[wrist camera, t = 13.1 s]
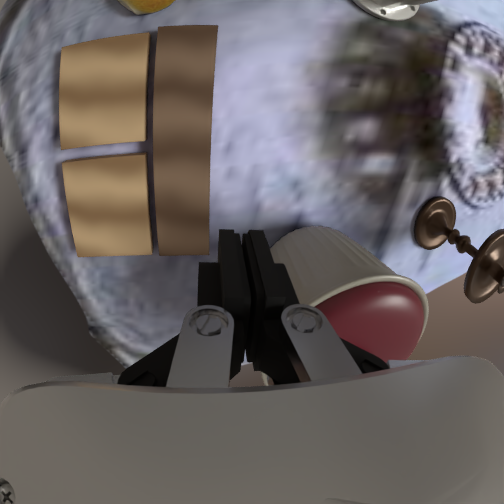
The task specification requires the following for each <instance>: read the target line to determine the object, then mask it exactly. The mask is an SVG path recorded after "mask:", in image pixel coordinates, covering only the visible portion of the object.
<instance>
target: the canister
mask: <svg viewBox="0 0 504 504" xmlns="http://www.w3.org/2000/svg"><path fill="white" fill-rule="evenodd" d="M270 251H271V254H272V257H273V260H274V263H283V264H284V265H285V266H286V269H287V272H288V274H289V277H290V279H291V282H292V285H293V287H294V290H295V292H296V295H297V298H298V300H299V303H300V304H306V305H310V306H313V307H315V308H317V309H318V310H320V311H321V312H322V313H323V314H324V315H325V316H326V318H327V319H328V321H329V322H330V324H331V325H332V327H333V328H334V330H335V332H336V333H337V335H338V336H339V337H340V338H342V339H344V340H346V341H348V342H350V343H352V344H353V345H355V346H357V347H359V348H361V349H363V350H365V351H367V352H369V353H371V354H373V355H375V356H377V357H379V358H380V359H382V360H383V361H384V362H385V363H387V361H388V360H407V359H408V357H409V356H410V355H411V353H412V352H413V350H414V348H415V347H416V345H417V343H418V341H419V340H420V338H421V336H422V334H423V332H424V329H425V327H426V323H427V319H428V311H429V310H428V309H429V308H428V300H427V297H426V294H425V292H424V291H423V289H422V288H421V287H420V286H419V285H418V284H417V283H416V282H415V281H413V280H412V279H410V278H407V277H405V276H401V275H397V274H396V273H395V272H394V271H392V270H391V269H390V268H389V267H387V266H386V265H385V264H384V263H382V262H381V261H380V260H379V259H377V258H376V257H375V256H374V255H372V254H371V253H370V252H369V251H367V250H366V249H365V248H363V247H362V246H361V245H359V244H358V243H356V242H355V241H354V240H352V239H351V238H349V237H348V236H346V235H344V234H343V233H341V232H339V231H337V230H334V229H332V228H329V227H323V226H310V227H303V228H301V229H296V230H295V231H293V232H290V233H288V234H287V235H285V236H284V237H281V239H280V240H279V241H277V242H275V244H274V245H273V246H272V247H271V248H270ZM261 375H262V379H263V382H264V384H265V386H269V385H268V382H267V375H266V374H264V373H263V372H261Z"/></svg>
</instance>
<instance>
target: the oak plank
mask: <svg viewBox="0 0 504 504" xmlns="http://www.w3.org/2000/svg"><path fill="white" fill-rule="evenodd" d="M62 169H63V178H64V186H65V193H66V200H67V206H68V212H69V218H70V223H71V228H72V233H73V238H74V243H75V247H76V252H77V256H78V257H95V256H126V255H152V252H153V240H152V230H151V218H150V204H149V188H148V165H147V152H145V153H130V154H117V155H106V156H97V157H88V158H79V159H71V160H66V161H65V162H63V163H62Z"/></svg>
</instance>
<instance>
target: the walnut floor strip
mask: <svg viewBox="0 0 504 504" xmlns="http://www.w3.org/2000/svg"><path fill="white" fill-rule="evenodd" d="M217 32H218V25H183V26H163V27H158V33H157V44H156V57H155V74H154V97H153V166H154V191H155V209H156V223H157V236H158V247H159V256H176V255H209V197H210V154H211V127H212V105H213V87H214V71H215V57H216V44H217Z"/></svg>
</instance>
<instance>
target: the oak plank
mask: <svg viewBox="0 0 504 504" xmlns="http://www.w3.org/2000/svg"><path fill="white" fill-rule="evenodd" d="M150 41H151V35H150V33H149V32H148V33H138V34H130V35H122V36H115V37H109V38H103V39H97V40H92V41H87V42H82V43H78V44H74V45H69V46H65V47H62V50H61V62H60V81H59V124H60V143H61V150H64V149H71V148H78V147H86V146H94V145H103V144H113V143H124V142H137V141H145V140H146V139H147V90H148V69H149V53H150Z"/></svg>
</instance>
